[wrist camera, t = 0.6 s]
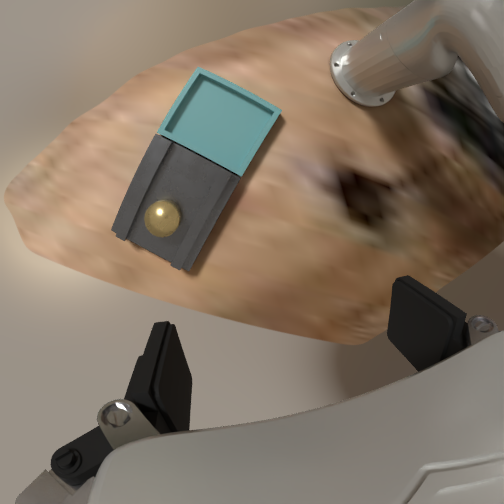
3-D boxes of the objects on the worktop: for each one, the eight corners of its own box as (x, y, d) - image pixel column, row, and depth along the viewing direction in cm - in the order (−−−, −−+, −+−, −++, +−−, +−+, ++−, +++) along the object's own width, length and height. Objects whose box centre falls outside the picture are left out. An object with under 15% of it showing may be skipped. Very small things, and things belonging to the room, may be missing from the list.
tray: (199, 70, 34) (198, 66, 32) (279, 112, 37) (282, 110, 35) (159, 133, 36) (156, 132, 35) (240, 176, 40) (241, 176, 38)
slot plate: (158, 135, 36) (153, 132, 33) (240, 177, 40) (241, 178, 37) (115, 227, 40) (108, 232, 37) (190, 266, 43) (188, 274, 40)
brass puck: (157, 193, 37) (153, 195, 35) (187, 209, 38) (185, 212, 36) (143, 223, 38) (138, 227, 36) (172, 238, 40) (169, 243, 37)
